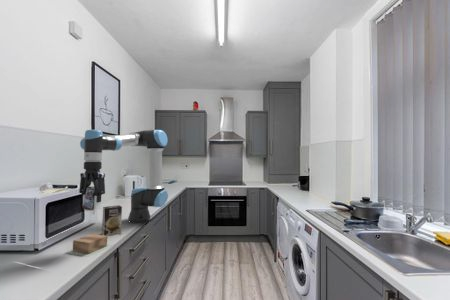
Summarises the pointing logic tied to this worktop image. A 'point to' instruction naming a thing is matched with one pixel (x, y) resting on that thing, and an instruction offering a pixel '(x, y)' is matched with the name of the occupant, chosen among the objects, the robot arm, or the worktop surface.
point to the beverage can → (89, 199)
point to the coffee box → (111, 220)
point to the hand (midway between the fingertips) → (91, 208)
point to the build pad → (88, 254)
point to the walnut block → (89, 243)
